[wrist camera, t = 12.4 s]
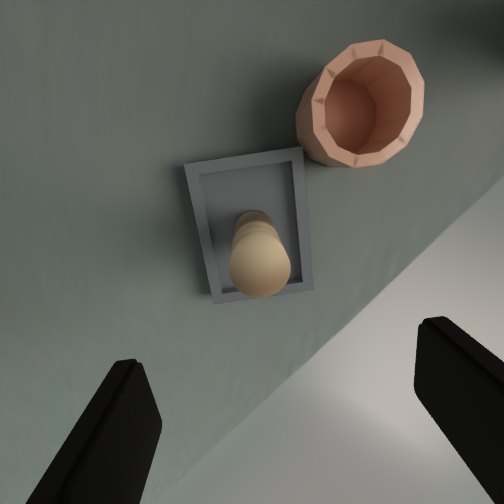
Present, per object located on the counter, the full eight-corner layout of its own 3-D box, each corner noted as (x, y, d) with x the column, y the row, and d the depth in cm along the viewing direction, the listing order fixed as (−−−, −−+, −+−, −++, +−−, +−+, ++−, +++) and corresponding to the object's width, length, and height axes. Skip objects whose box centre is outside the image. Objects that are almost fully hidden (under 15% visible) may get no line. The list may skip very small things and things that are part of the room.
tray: (188, 164, 29) (183, 164, 27) (297, 147, 29) (302, 146, 26) (215, 294, 34) (213, 304, 32) (308, 281, 34) (313, 289, 32)
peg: (231, 213, 30) (223, 245, 18) (270, 207, 30) (287, 236, 18) (238, 250, 31) (234, 301, 20) (275, 244, 31) (293, 293, 20)
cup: (292, 78, 27) (308, 50, 20) (381, 64, 27) (427, 32, 20) (299, 171, 30) (316, 173, 23) (380, 159, 30) (420, 157, 23)
